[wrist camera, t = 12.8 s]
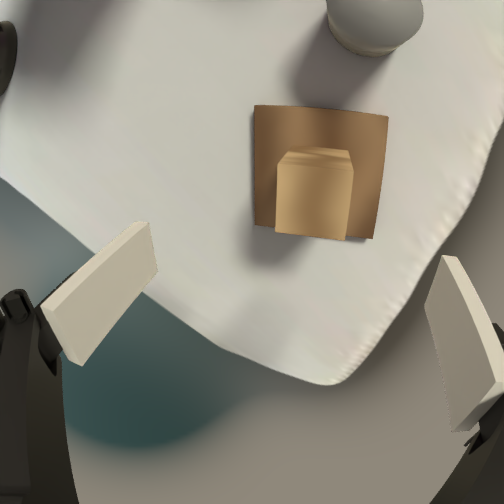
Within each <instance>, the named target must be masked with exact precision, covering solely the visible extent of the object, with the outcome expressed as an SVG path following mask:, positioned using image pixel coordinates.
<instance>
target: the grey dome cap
mask: <svg viewBox="0 0 504 504" xmlns="http://www.w3.org/2000/svg"><path fill="white" fill-rule="evenodd" d="M326 3H327V13H328V23H329V27H330V30H331V32H332V34H333V36H334V37H335V39H336V40H337V41H338V42H339V43H340V44H341V45H342V46H343V47H345V48H346V49H348V50H349V51H351V52H353V53H356V54H358V55H362V56H367V57H379V56H383V55H386V54H389V53H390V52H392V51H394V50H395V49H396V48H398V47H399V46H400V45H402V44H403V43H404V42H406V41H407V40H409V39H410V38H411V37H412V36H414V35H415V34H416V33H417V31H418V30H419V28H420V27H421V24H422V21H423V5H422V2H421V0H326Z"/></svg>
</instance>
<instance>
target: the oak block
mask: <svg viewBox="0 0 504 504" xmlns="http://www.w3.org/2000/svg"><path fill="white" fill-rule="evenodd" d="M353 175H354V170H353V167H352V163H351V159H350V155H349V152H348V151H347V150H339V149H330V148H320V147H310V146H299V145H293V146H292V147H291V148H290V149H289V151H288V152H287V153H286V154H285V155H284V157H283V158H282V159H281V160H280V161H279V163H278V166H277V199H276V227H275V232H279V233H288V234H296V235H304V236H312V237H320V238H328V239H336V240H344V241H345V236H346V229H347V222H348V215H349V208H350V200H351V192H352V184H353Z"/></svg>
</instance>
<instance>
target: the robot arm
mask: <svg viewBox="0 0 504 504" xmlns="http://www.w3.org/2000/svg"><path fill="white" fill-rule="evenodd" d="M16 50H17V36H16V31H15V28H14V26H13V24H12V23H11V22H9V21H2V22H0V96H1V95H2V94H3V93H4V91H5V90H6V88H7V86H8V83H9V81H10V78H11V75H12V72H13V68H14V64H15V58H16ZM157 272H158V269H157V264H156V259H155V254H154V248H153V243H152V237H151V231H150V226H149V223H148V222H137V221H136V222H135V223H133V224H132V225H131V226H130V227H128V228H127V229H126V230H125V231H123V232H122V233H121V234H120V235H118V236H117V237H116V238H115V239H114V240H112V241H111V242H110V243H109V244H108V245H106V246H105V247H104V248H103V249H102V250H101V251H99V252H98V253H97V254H96V255H95V256H94V257H92V258H91V259H90V260H89V261H88V262H87V263H86V264H85V265H83V266H82V267H81V268H80V269H79V270H77V271H76V272H74V273H72V274H70V275H69V276H68V277H67V278H66V279H65V280H64V281H62V283H60V284H59V285H58V286H57V287H56V289H54V290H53V291H52V292H51V293H50V294H49V295H48V296H46V298H45V299H43V300H42V301H41V303H39V304H38V305H37V306H36V307H35V308H34V307H33V305H32V303H31V301H30V299H29V297H28V295H27V293H26V291H25V290H23V289H15V290H13V291H10V292H9V293H8V294H6V295H5V296H4V297H3V298H2V299H1V301H0V307H1V309H2V310H3V312H4V314H5V316H3V314H2V312H1V310H0V504H79V502H78V497H77V493H76V489H75V485H74V479H73V474H72V469H71V463H70V458H69V452H68V445H67V437H66V428H65V418H64V407H63V391H62V362H61V357H60V356H59V354H60V352H61V351H62V350H63V351H64V353H65V354H66V356H67V358H68V359H69V360H70V361H72V362H74V363H76V364H78V365H81V366H83V364H84V363H85V362H86V360H87V359H88V358H89V356H90V355H91V354H92V352H93V351H94V350H95V349H96V347H97V346H98V345H99V343H100V342H101V341H102V340H103V338H104V337H105V336H106V335H107V333H108V332H109V331H110V329H111V328H112V327H113V326H114V324H115V323H116V322H117V321H118V319H119V318H120V317H121V316H122V314H123V313H124V312H125V311H126V310H127V308H128V307H129V306H130V305H131V303H132V302H133V301H134V300H135V299H136V297H137V296H138V295H139V294H140V293H141V291H142V290H143V289H144V288H145V287H146V285H147V284H148V283H149V282H150V281H151V279H152V278H153V277H154V276H155V275H156V274H157ZM424 308H425V311H426V314H427V318H428V321H429V325H430V328H431V332H432V336H433V339H434V343H435V347H436V351H437V356H438V360H439V364H440V369H441V373H442V378H443V383H444V388H445V394H446V399H447V405H448V410H449V418H450V424H451V432H460V431H469V430H470V429H471V428H472V427H473V426H474V425H475V424H476V423H477V422H478V421H479V426H480V430H479V431H478V432H477V433H476V434H475V435H474V436H473V437H471V438H470V439H469V440H468V441H467V442H466V443H465V445H464V446H467V445H468V444H469V443H470V445H469V446H468V448H467V450H466V452H465V453H464V455H463V456H462V458H461V460H460V461H459V463H458V465H457V466H456V467H455V469H454V471H453V472H452V474H451V475H450V476H449V478H448V479H447V481H446V482H445V484H444V485H443V486H442V488H441V489H440V491H439V492H438V493H437V495H436V496H435V497H434V498H433V500H432V501H431V502H430V504H504V332H503V330H502V329H501V328H500V327H499V326H498V325H497V324H496V323H491V321H490V319H489V317H488V315H487V313H486V310H485V308H484V306H483V304H482V302H481V301H480V298H479V296H478V294H477V293H476V291H475V289H474V287H473V285H472V283H471V281H470V279H469V278H468V276H467V274H466V272H465V270H464V269H463V267H462V265H461V264H460V262H459V260H458V259H457V257H453V256H446V255H442V257H441V260H440V263H439V266H438V269H437V272H436V275H435V278H434V281H433V284H432V287H431V289H430V292H429V295H428V297H427V300H426V302H425V305H424Z"/></svg>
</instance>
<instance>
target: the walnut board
mask: <svg viewBox="0 0 504 504" xmlns="http://www.w3.org/2000/svg"><path fill="white" fill-rule="evenodd" d="M388 118H389V117H387V116H383V115H376V114H369V113H362V112H354V111H346V110H336V109H326V108H314V107H298V106H275V105H255V106H254V133H255V225H259V226H268V227H276V199H277V166H278V163H279V161H280V160H281V159H282V158H283V157H284V155H285V154H286V153H287V152H288V151H289V149H290V148H291V147H292V146H293V145H299V146H310V147H320V148H330V149H339V150H347V151H348V152H349V155H350V159H351V163H352V167H353V170H354V175H353V184H352V192H351V200H350V208H349V215H348V222H347V229H346V236H353V237H361V238H369V239H373V234H374V228H375V223H376V217H377V211H378V205H379V198H380V192H381V184H382V177H383V169H384V161H385V152H386V142H387V131H388Z"/></svg>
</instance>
